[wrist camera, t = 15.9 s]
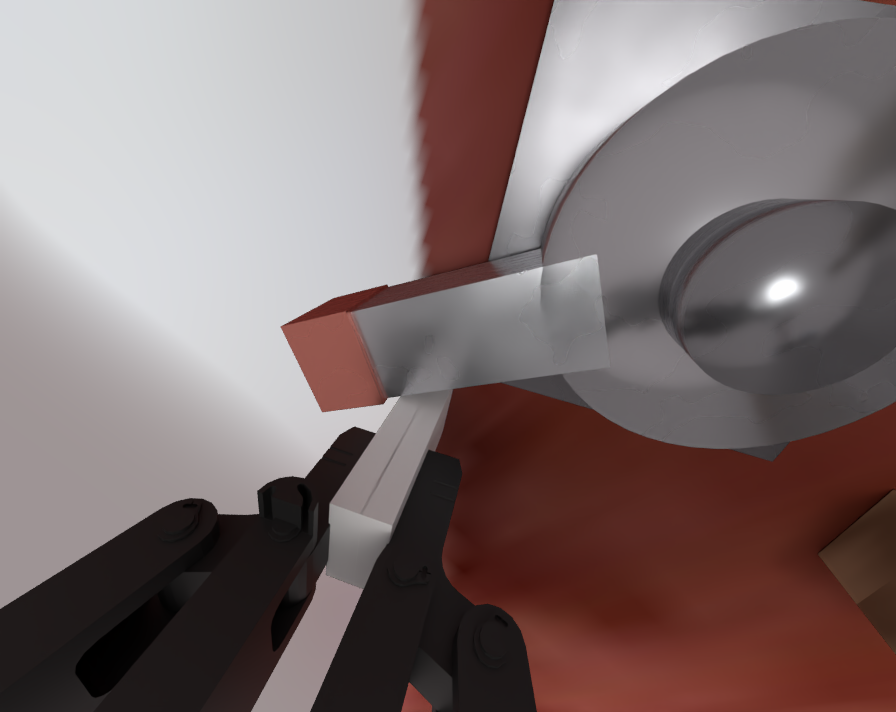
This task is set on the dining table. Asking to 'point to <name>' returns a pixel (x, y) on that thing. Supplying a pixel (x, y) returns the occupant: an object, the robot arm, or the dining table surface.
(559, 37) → the base
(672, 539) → the dining table surface
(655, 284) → the silver lever handle
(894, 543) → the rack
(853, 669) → the dining table surface
